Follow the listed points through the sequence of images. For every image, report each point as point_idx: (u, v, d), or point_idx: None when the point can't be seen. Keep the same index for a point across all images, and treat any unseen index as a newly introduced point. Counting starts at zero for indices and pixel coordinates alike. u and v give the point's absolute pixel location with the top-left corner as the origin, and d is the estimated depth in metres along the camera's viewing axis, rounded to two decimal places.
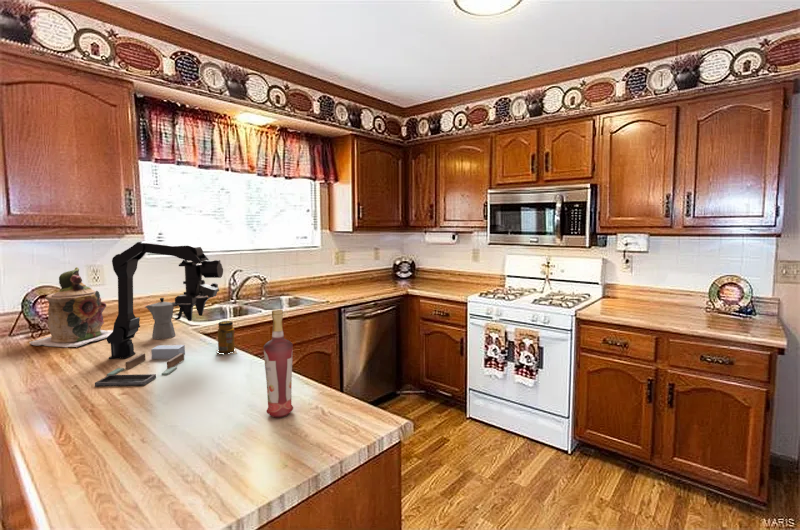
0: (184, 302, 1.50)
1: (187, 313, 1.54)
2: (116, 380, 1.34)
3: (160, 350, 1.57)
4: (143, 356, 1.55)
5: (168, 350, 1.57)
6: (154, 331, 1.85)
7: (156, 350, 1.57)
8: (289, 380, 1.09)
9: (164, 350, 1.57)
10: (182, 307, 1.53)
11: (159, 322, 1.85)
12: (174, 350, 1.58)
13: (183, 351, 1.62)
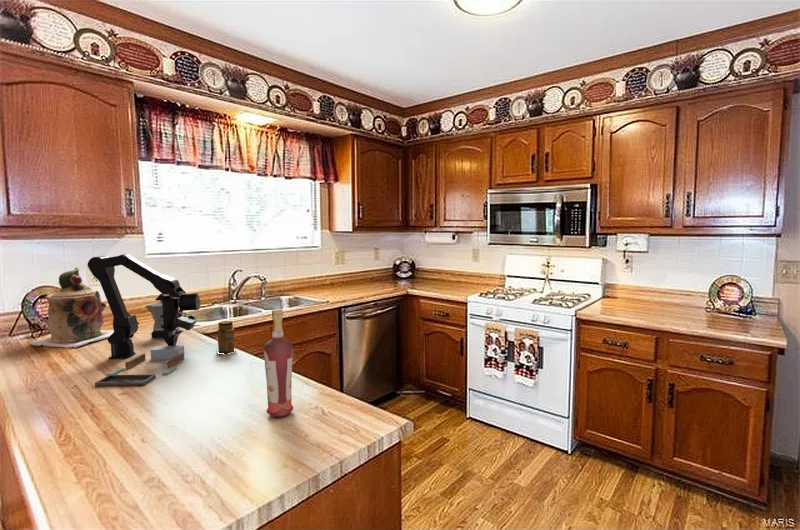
0: (160, 336, 1.53)
1: (170, 343, 1.62)
2: (116, 380, 1.34)
3: (159, 351, 1.57)
4: (143, 356, 1.55)
5: (167, 351, 1.57)
6: None
7: (155, 351, 1.57)
8: (289, 380, 1.09)
9: (163, 351, 1.57)
10: (165, 338, 1.61)
11: (159, 322, 1.85)
12: (173, 351, 1.57)
13: (182, 352, 1.61)
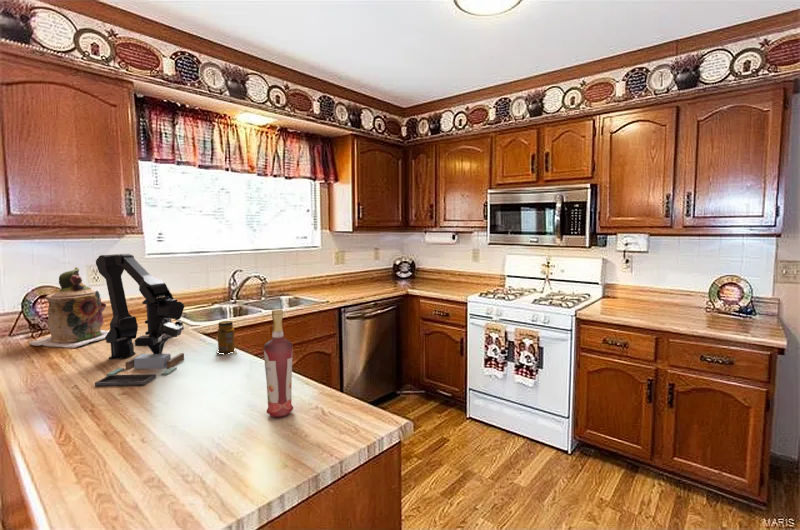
0: (144, 344, 1.43)
1: (155, 351, 1.51)
2: (116, 380, 1.34)
3: (143, 359, 1.46)
4: None
5: (152, 359, 1.46)
6: None
7: (139, 359, 1.46)
8: (289, 380, 1.09)
9: (148, 359, 1.46)
10: (150, 345, 1.50)
11: None
12: (159, 359, 1.46)
13: None
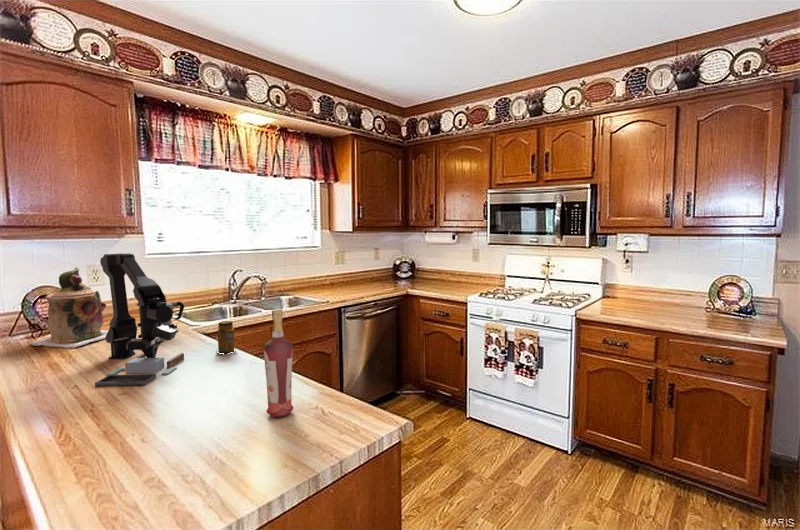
0: (137, 348, 1.38)
1: (148, 355, 1.47)
2: (116, 380, 1.34)
3: (136, 364, 1.42)
4: (143, 356, 1.55)
5: (145, 364, 1.42)
6: None
7: (131, 364, 1.42)
8: (289, 380, 1.09)
9: (140, 364, 1.42)
10: None
11: None
12: (151, 364, 1.42)
13: (162, 364, 1.46)
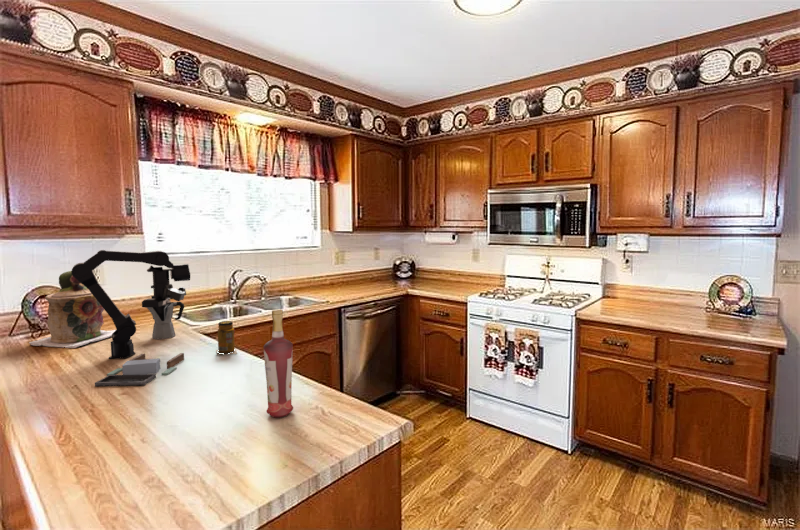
0: (150, 306, 1.58)
1: (160, 314, 1.66)
2: (116, 380, 1.34)
3: (133, 366, 1.40)
4: (143, 356, 1.55)
5: (143, 365, 1.40)
6: (154, 331, 1.85)
7: (128, 366, 1.39)
8: (289, 380, 1.09)
9: (138, 365, 1.40)
10: (155, 308, 1.65)
11: (159, 322, 1.85)
12: (151, 364, 1.41)
13: (159, 365, 1.45)
